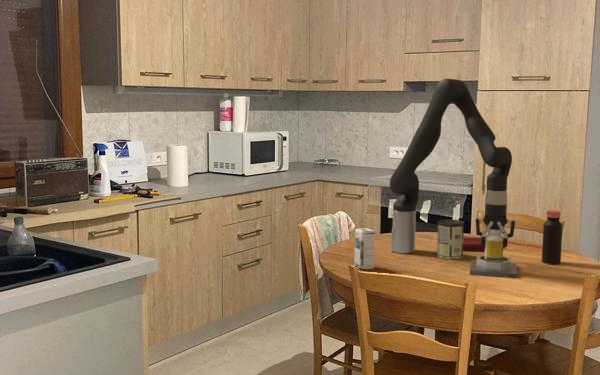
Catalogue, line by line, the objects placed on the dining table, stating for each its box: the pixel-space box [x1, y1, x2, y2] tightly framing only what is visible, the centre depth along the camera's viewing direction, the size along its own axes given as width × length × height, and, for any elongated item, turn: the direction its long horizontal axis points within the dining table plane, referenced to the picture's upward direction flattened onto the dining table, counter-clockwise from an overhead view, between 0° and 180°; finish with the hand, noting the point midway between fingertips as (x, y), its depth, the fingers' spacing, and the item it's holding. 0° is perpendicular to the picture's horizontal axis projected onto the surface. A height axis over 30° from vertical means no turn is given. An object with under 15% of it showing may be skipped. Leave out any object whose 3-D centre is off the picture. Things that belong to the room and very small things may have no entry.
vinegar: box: [541, 209, 563, 265], centre depth 245 cm, size 7×7×20 cm
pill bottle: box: [484, 229, 504, 262], centre depth 233 cm, size 6×6×12 cm
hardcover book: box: [463, 236, 485, 253], centre depth 271 cm, size 12×21×4 cm, turn 79°
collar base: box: [469, 254, 518, 279], centre depth 234 cm, size 16×16×4 cm
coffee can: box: [436, 218, 465, 260], centre depth 256 cm, size 10×10×14 cm
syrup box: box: [353, 227, 376, 270], centre depth 238 cm, size 6×6×14 cm
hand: (494, 247), depth 233 cm, fingers closed on pill bottle, 6 cm apart
